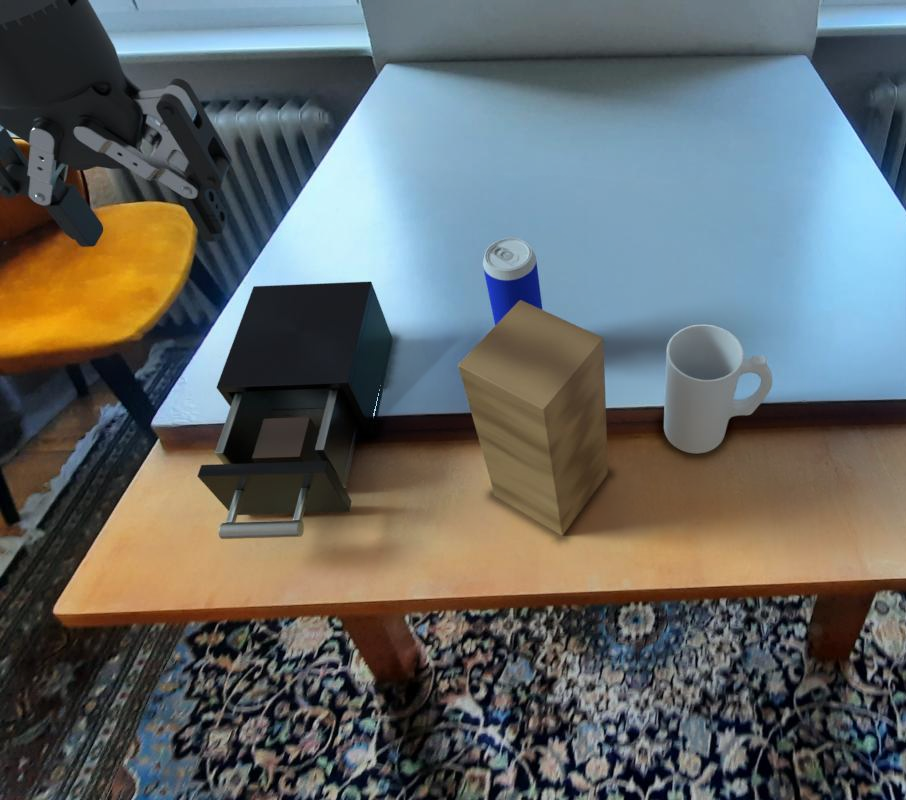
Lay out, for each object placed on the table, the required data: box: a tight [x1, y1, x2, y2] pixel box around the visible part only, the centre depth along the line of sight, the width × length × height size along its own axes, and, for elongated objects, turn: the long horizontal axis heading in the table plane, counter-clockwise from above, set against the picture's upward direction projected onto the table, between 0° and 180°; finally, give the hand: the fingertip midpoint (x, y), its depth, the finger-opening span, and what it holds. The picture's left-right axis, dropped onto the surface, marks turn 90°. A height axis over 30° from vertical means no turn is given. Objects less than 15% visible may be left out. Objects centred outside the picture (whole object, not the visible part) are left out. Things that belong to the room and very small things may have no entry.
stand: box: [457, 300, 609, 536], centre depth 64 cm, size 8×8×20 cm
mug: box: [663, 323, 773, 454], centre depth 70 cm, size 10×7×12 cm, turn 89°
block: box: [252, 417, 321, 463], centre depth 70 cm, size 4×4×4 cm
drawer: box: [197, 388, 360, 540], centre depth 69 cm, size 17×11×7 cm, turn 0°
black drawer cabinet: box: [216, 281, 394, 438], centre depth 77 cm, size 14×13×9 cm
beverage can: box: [482, 237, 544, 327], centre depth 76 cm, size 5×5×15 cm
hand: (155, 236), depth 50 cm, fingers open, 8 cm apart
